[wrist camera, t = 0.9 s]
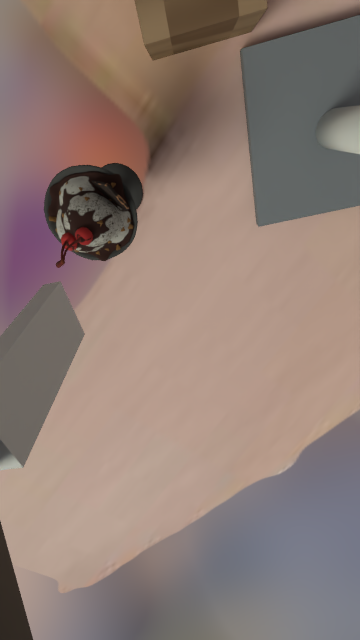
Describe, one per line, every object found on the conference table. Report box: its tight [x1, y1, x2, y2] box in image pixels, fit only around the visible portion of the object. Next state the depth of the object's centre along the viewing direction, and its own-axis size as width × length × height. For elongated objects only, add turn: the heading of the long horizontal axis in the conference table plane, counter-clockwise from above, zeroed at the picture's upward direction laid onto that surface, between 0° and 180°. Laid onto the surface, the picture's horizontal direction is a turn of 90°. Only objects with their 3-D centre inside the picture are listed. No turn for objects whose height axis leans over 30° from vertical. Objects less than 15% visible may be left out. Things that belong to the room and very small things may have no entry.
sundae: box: [44, 163, 143, 268], centre depth 25 cm, size 7×7×15 cm
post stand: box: [240, 15, 360, 226], centre depth 24 cm, size 14×14×9 cm
